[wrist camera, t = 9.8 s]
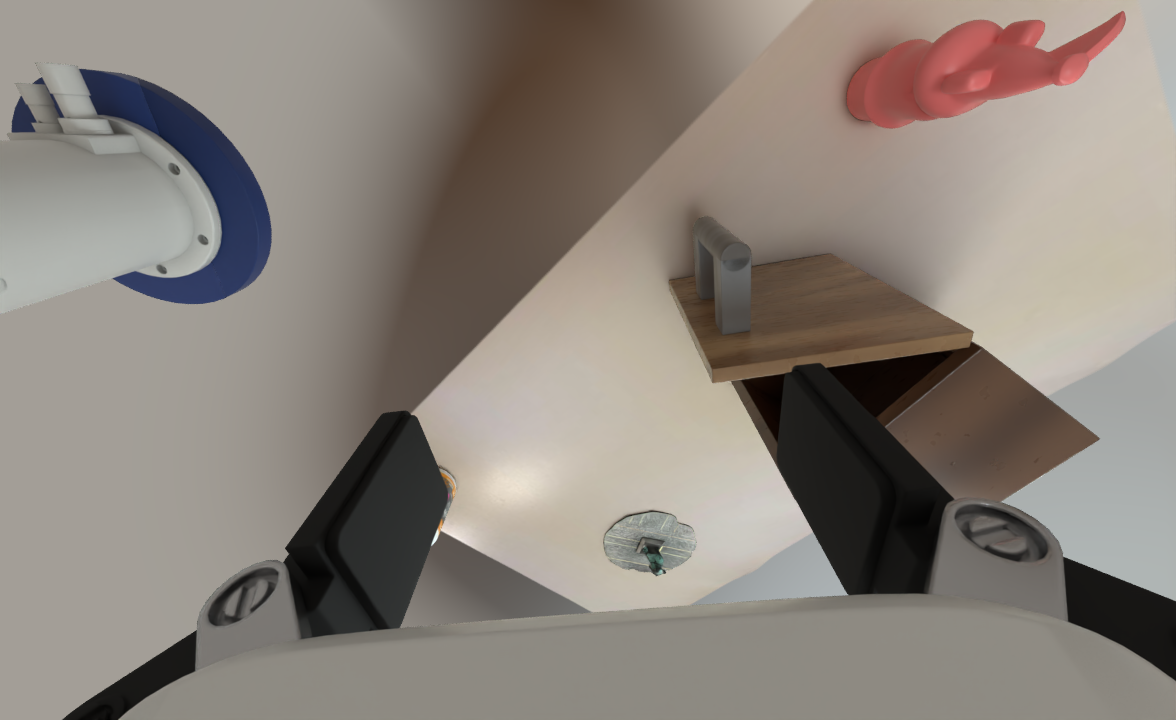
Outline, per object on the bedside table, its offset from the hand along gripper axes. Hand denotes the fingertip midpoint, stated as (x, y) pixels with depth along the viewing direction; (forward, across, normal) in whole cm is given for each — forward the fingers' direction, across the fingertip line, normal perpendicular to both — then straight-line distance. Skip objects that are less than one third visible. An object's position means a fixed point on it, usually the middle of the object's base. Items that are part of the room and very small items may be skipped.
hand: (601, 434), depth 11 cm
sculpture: (+28, -2, +42) cm, 51 cm away
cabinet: (+28, -21, +16) cm, 38 cm away
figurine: (+28, -22, -6) cm, 36 cm away
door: (+28, -13, +4) cm, 31 cm away
